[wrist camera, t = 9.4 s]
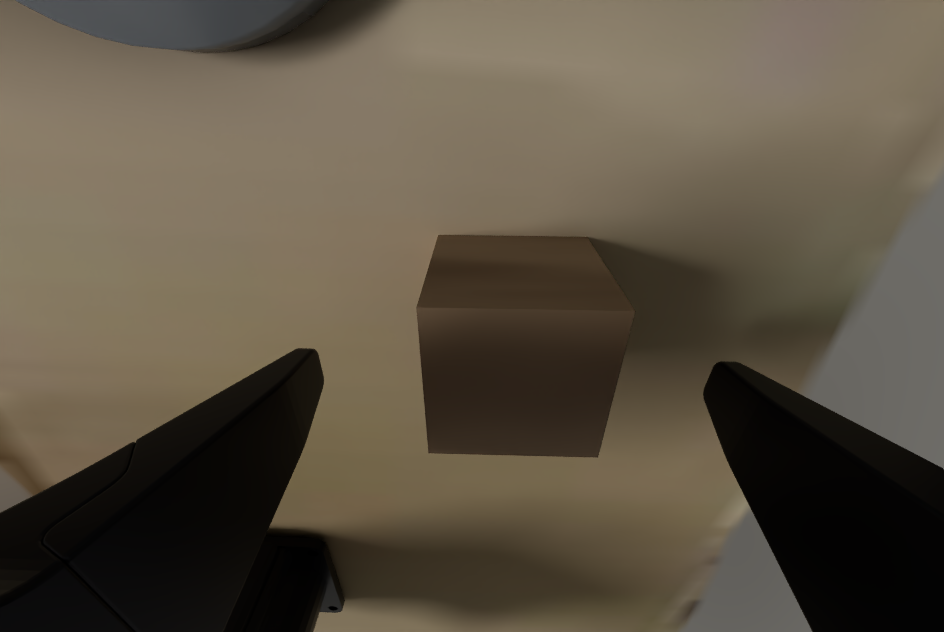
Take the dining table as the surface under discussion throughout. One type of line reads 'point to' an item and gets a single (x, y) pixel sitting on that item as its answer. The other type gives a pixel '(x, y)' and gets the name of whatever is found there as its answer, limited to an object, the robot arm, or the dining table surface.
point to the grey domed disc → (181, 21)
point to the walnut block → (520, 345)
